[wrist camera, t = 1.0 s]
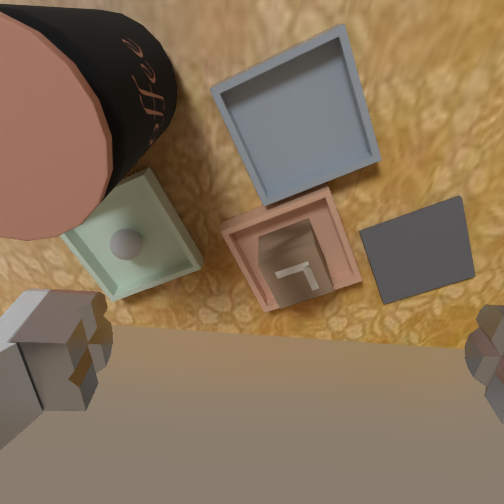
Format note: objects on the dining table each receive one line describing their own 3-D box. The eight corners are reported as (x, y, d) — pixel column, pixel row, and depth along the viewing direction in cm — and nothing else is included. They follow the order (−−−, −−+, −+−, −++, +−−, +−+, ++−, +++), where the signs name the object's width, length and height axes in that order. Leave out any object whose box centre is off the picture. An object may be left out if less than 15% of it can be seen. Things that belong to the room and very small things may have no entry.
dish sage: (149, 166, 37) (143, 174, 35) (203, 258, 42) (201, 269, 40) (56, 209, 39) (45, 218, 37) (118, 289, 44) (112, 302, 42)
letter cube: (308, 217, 38) (315, 246, 34) (325, 260, 41) (334, 292, 36) (258, 236, 40) (257, 266, 35) (278, 276, 42) (280, 309, 37)
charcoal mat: (459, 195, 37) (461, 197, 37) (472, 273, 42) (475, 276, 42) (359, 230, 40) (360, 233, 39) (382, 301, 44) (384, 304, 44)
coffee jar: (166, 160, 36) (96, 264, 21) (51, 124, 35) (-117, 208, 19) (192, 37, 31) (124, 56, 15) (57, -12, 29) (-168, -45, 14)
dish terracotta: (326, 180, 37) (329, 189, 35) (358, 269, 42) (362, 280, 40) (222, 221, 39) (220, 231, 38) (264, 300, 45) (264, 312, 43)
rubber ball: (135, 218, 39) (126, 233, 36) (152, 243, 40) (144, 259, 38) (109, 229, 40) (98, 245, 37) (126, 253, 41) (117, 270, 38)
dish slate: (339, 23, 30) (344, 24, 28) (375, 152, 35) (381, 160, 33) (212, 85, 33) (209, 89, 31) (263, 197, 38) (263, 206, 36)
